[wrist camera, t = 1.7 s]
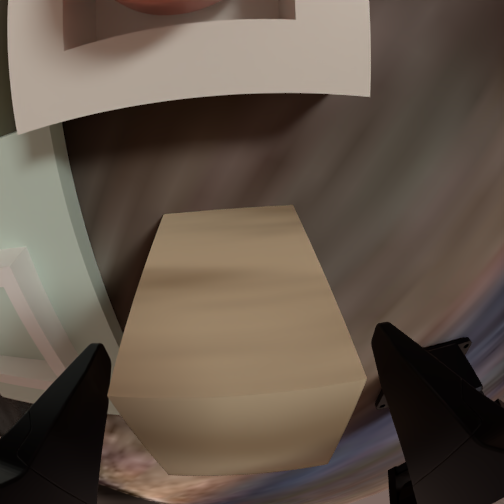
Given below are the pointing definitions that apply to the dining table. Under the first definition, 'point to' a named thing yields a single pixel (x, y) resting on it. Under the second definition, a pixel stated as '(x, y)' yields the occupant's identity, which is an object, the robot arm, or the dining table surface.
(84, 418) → the robot arm
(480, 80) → the dining table surface
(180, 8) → the button
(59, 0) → the button housing
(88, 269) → the tray
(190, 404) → the block
